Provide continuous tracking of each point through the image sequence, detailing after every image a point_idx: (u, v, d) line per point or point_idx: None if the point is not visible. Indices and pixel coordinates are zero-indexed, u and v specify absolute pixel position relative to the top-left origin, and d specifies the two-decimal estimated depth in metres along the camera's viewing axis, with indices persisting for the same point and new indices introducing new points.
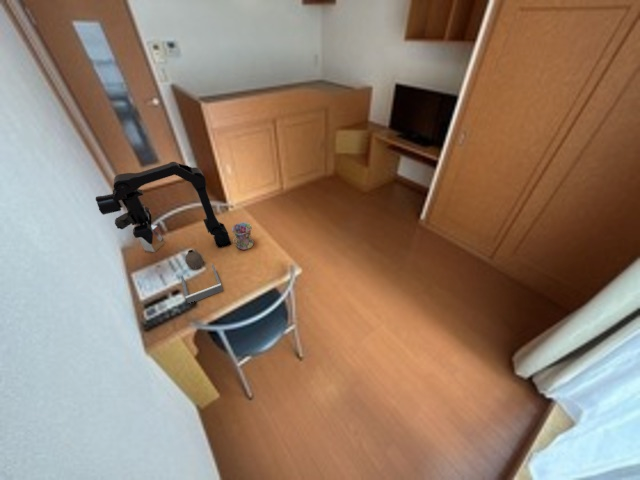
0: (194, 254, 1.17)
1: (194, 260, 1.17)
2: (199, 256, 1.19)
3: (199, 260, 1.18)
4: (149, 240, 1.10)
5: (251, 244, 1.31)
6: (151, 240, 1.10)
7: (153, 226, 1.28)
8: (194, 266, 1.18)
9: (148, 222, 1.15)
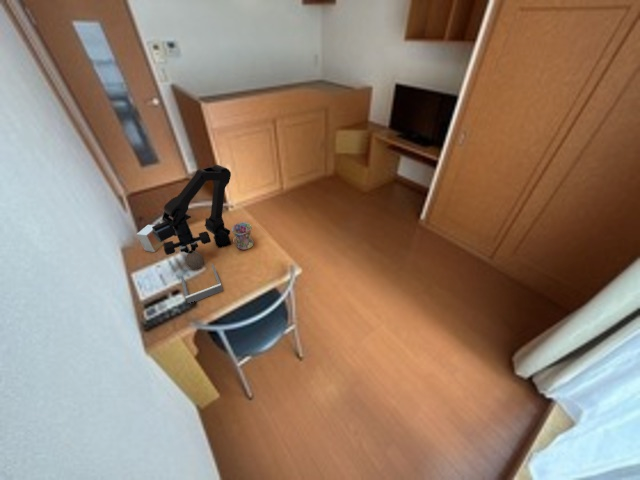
0: (195, 255, 1.16)
1: (194, 260, 1.16)
2: (199, 257, 1.18)
3: (199, 261, 1.18)
4: None
5: (251, 244, 1.31)
6: None
7: None
8: (194, 267, 1.18)
9: None
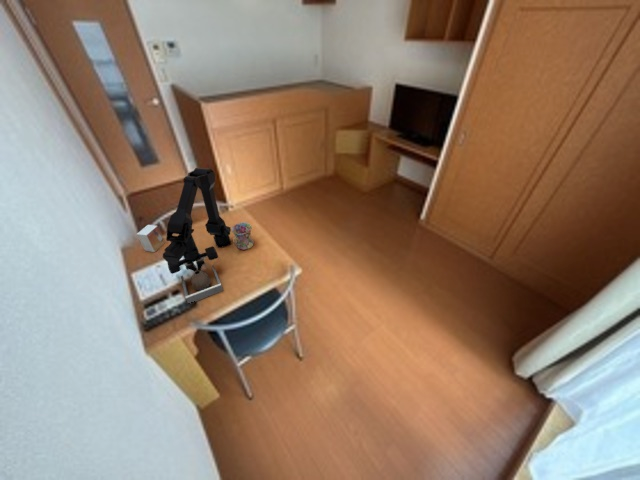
0: (201, 276, 1.07)
1: (201, 282, 1.07)
2: (206, 277, 1.09)
3: (206, 282, 1.09)
4: None
5: (251, 244, 1.31)
6: None
7: (153, 226, 1.28)
8: (201, 288, 1.08)
9: (197, 266, 1.12)
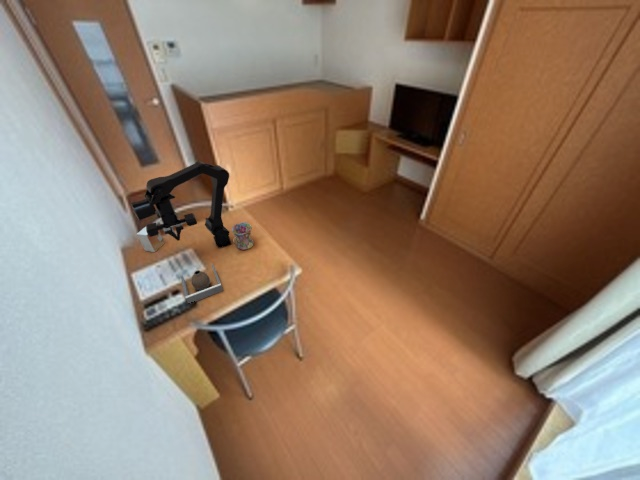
0: (201, 276, 1.07)
1: (201, 282, 1.07)
2: (206, 277, 1.09)
3: (206, 282, 1.09)
4: None
5: (251, 244, 1.31)
6: None
7: None
8: (201, 288, 1.08)
9: (176, 232, 1.14)
